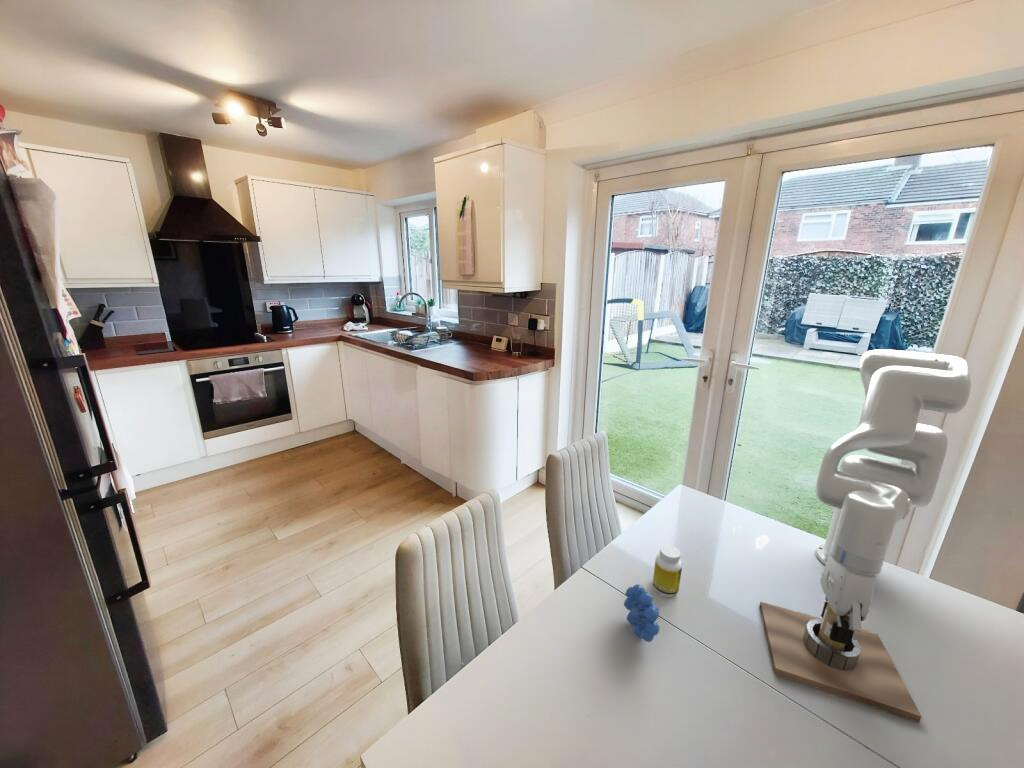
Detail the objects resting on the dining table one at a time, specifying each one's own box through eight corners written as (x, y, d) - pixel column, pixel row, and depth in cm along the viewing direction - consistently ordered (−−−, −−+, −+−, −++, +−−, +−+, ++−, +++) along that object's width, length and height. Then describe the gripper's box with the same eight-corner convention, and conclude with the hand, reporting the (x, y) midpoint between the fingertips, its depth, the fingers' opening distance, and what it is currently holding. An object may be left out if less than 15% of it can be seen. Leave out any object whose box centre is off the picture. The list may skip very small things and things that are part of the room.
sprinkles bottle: (828, 656, 79) (845, 603, 75) (810, 635, 84) (825, 585, 80) (850, 654, 80) (867, 602, 76) (831, 634, 84) (846, 583, 80)
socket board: (759, 606, 94) (760, 601, 94) (876, 639, 86) (877, 634, 85) (774, 673, 78) (775, 668, 78) (919, 722, 70) (921, 716, 69)
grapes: (671, 654, 82) (678, 607, 79) (641, 660, 81) (647, 613, 77) (642, 609, 93) (647, 567, 90) (616, 614, 92) (620, 571, 88)
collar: (799, 626, 87) (802, 614, 86) (847, 640, 84) (851, 627, 83) (809, 660, 79) (813, 646, 78) (863, 677, 76) (867, 663, 75)
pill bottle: (680, 600, 96) (686, 561, 93) (654, 595, 97) (659, 557, 94) (675, 581, 102) (681, 544, 99) (650, 577, 103) (655, 541, 100)
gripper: (819, 525, 84) (802, 595, 89) (848, 579, 69) (825, 659, 74) (863, 534, 82) (842, 605, 86) (903, 592, 67) (875, 675, 71)
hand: (834, 629), depth 80 cm, fingers open, 4 cm apart
